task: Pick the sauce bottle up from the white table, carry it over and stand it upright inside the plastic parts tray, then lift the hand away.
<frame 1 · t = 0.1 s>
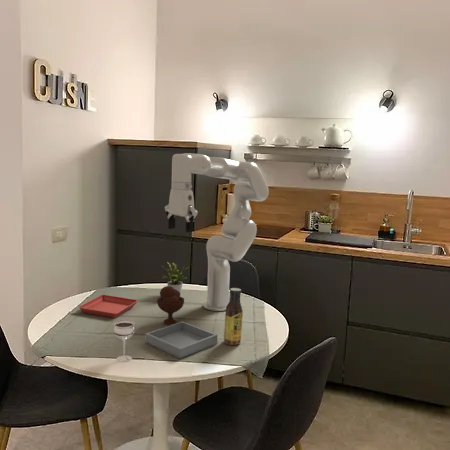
hand: (180, 230, 190), 37 cm above the table, tool pointing down, fingers open, 9 cm apart
wineglass: (124, 359, 159), on the table
sauce bottle: (232, 343, 176), on the table
red square tray: (109, 311, 204), on the table
ice cream bowl: (170, 322, 193), on the table
parts tray: (181, 343, 173), on the table
house plant: (172, 295, 227), on the table
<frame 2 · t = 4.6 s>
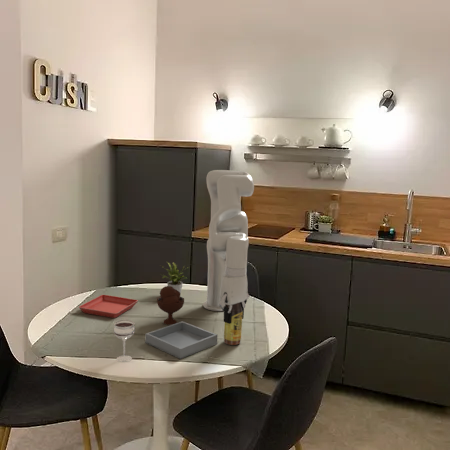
hand: (233, 319, 174), 9 cm above the table, tool pointing down, fingers closed on sauce bottle, 6 cm apart
sauce bottle: (232, 342, 175), on the table, touching gripper
everything else where it was.
when the fingers open (11 cm above the table, at t = 13.2 s): sauce bottle drops 2 cm, resting on parts tray.
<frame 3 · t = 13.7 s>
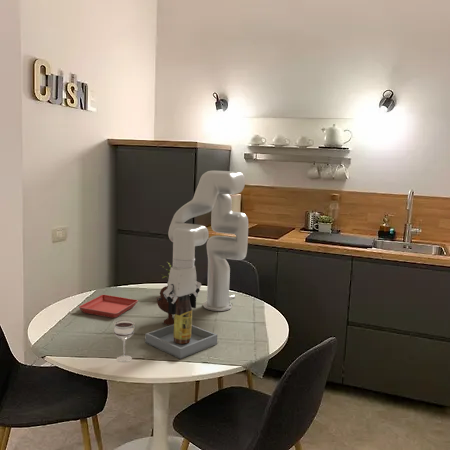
hand: (182, 310, 171), 12 cm above the table, tool pointing down, fingers open, 9 cm apart
sauce bottle: (182, 341, 173), resting on parts tray
everything else where it was.
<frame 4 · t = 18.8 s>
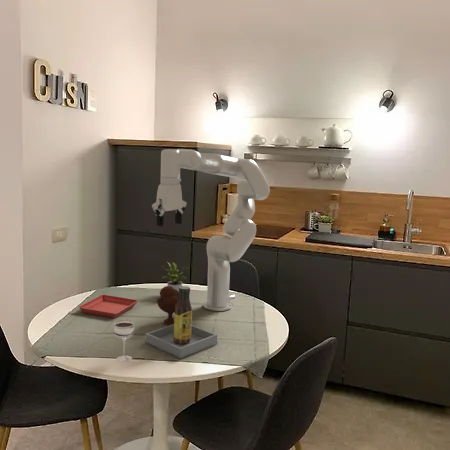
hand: (169, 224, 192), 38 cm above the table, tool pointing down, fingers open, 9 cm apart
nothing on the table moved.
at the end: sauce bottle inside the target area on the parts tray (0.5 cm from its centre), point 0.4 cm above the parts tray's base; sauce bottle tilted 0°; the gripper is holding nothing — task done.
